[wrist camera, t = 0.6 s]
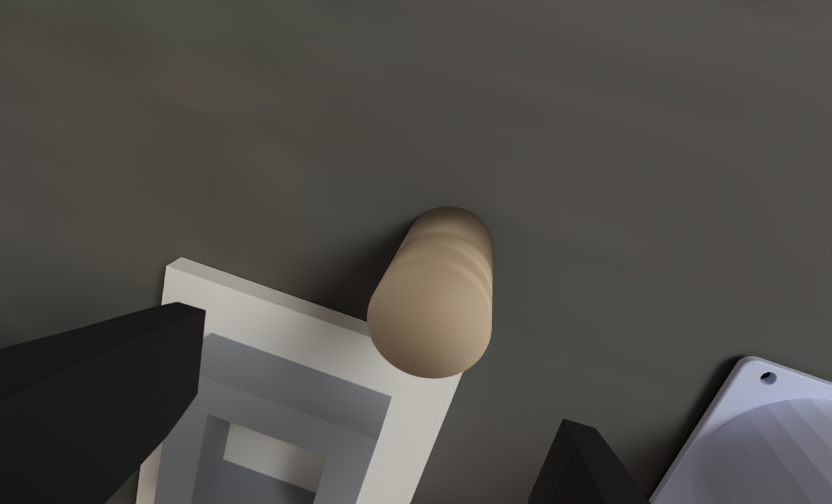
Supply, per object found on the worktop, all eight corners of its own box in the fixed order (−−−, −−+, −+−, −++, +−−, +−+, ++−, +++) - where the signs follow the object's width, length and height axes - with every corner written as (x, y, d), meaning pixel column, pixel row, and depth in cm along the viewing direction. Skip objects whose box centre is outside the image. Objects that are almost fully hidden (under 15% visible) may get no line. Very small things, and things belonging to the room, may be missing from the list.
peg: (505, 223, 18) (510, 290, 12) (475, 300, 19) (467, 394, 13) (420, 194, 18) (385, 248, 12) (395, 272, 19) (353, 354, 13)
